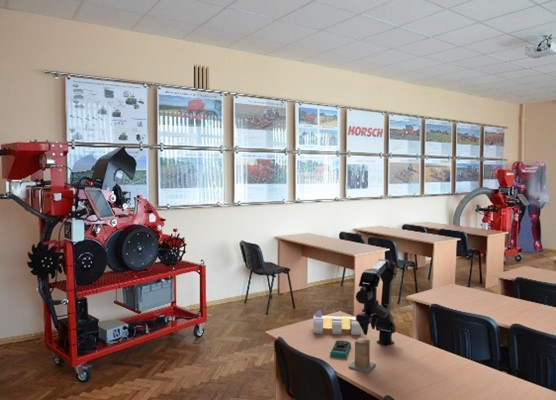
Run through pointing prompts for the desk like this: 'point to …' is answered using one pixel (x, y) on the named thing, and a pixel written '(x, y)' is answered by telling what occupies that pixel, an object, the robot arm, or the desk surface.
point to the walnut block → (362, 352)
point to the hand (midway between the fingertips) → (369, 331)
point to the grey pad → (362, 368)
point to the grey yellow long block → (336, 324)
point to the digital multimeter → (340, 349)
